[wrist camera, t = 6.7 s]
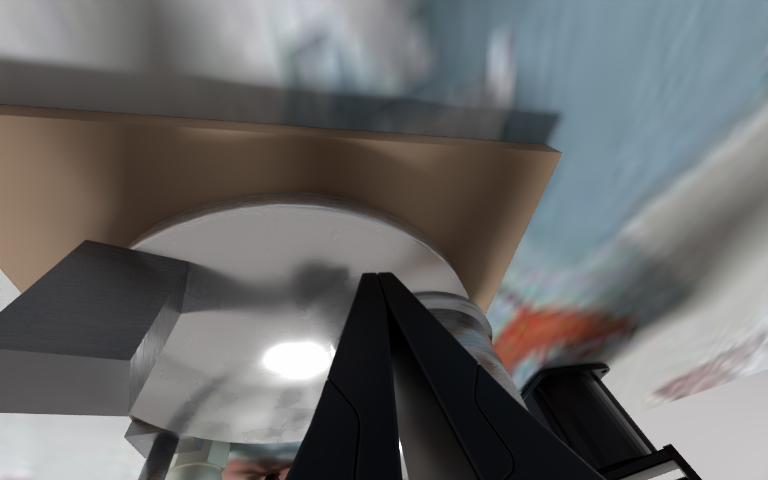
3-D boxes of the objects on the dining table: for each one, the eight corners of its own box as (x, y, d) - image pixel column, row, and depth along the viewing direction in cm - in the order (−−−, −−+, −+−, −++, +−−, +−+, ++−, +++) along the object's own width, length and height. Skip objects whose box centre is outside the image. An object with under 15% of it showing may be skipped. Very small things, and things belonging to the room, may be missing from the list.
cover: (377, 273, 10) (403, 390, 7) (516, 309, 13) (583, 405, 9) (313, 380, 13) (309, 493, 10) (434, 390, 16) (463, 482, 13)
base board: (545, 144, 11) (566, 154, 10) (438, 391, 22) (443, 407, 21) (-91, 97, 7) (-154, 107, 6) (159, 424, 18) (150, 446, 17)
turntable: (90, 103, 7) (-177, 180, 3) (526, 260, 13) (605, 349, 9) (103, 411, 14) (25, 543, 10) (378, 420, 20) (390, 506, 16)
